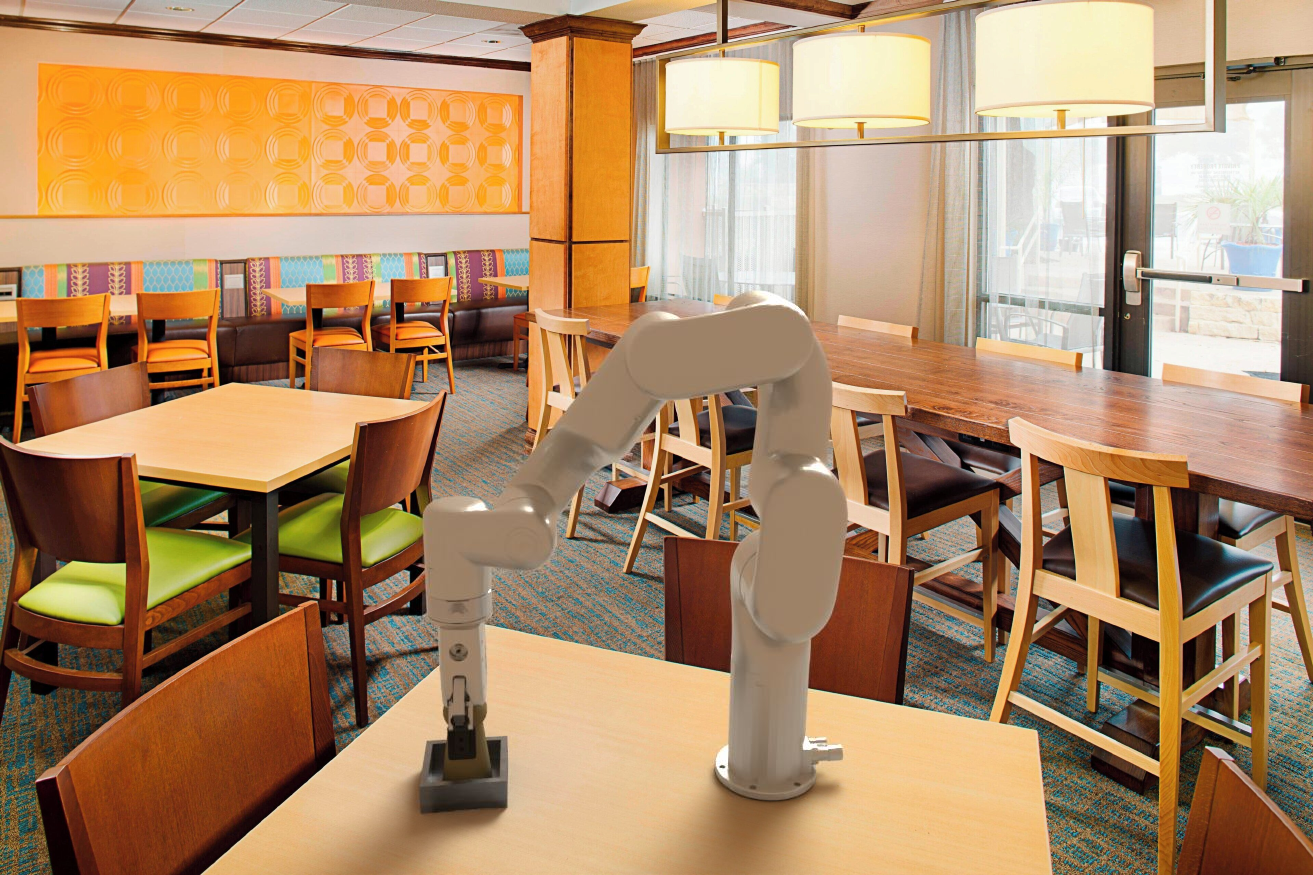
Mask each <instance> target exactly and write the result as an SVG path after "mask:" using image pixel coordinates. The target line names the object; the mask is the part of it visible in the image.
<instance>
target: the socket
mask: <svg viewBox="0 0 1313 875" xmlns="http://www.w3.org/2000/svg"><path fill="white" fill-rule="evenodd" d="M446 741H447V739H433V740H426V742H425V750H424V755H423V760H422V761H423V762H422V768H421V774H420V781H419V784H418V785H419V786H418V787H419V806H420V807H419V808H420V813H419V814H430V813H431V814H433V813H434V814H435V813H446V812H447V813H448V812H459V811H460V812H461V811H462V812H463V811H474V810H489V809H491V810H492V809H500V808H501V809H503V808H504V809H505V808H508V802H509V801H508V800H509V799H508V794H509V793H508V789H509V786H508V783H509V782H508V781H509V780H508V778H509V754H508V753H509V747H508V746H509V745H508V735H500V736H486V742H487V747H488V753H489V759H490V764H491V770H492V778H485V779H470V780H455V781H442V779H443V769H444V760H445V750H446Z"/></svg>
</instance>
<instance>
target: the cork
mask: <svg viewBox="0 0 1313 875" xmlns="http://www.w3.org/2000/svg"><path fill="white" fill-rule="evenodd" d="M465 701H470V697H465ZM442 707H443V708H442V716H443V719H444V721H445V723H446V725H447V727H449V706H448V708H447V707H445V706H444V705H443V706H442ZM487 714H488V703H487V700H486V701H485V703H484V704H483V705H482V706H480V705H473V726H475V725H476V751H477V755H476V758H475V759H466V760H449V759H448V739H447V738H446V740H447V741H446V750H445V760H444V769H443V779H442V781H455V780H470V779H485V778H492V770H491V764H490V759H489V753H488V747H487V742H486V737H487V736H486V731H485V730H486V729H485V726H484V721H485V719H486V718H487ZM465 715H467V716H468V708H465Z"/></svg>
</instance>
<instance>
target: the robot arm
mask: <svg viewBox="0 0 1313 875" xmlns="http://www.w3.org/2000/svg"><path fill="white" fill-rule="evenodd" d="M830 368H831V367H830V366H829V362H828V358H827V355H826V353H825V350H824V349H823V346H822V344H821V342H820V340H819V338H818V336H817V335H816V334H815V332H814V330H813V325H812V323H811V321H810V319H809V317H808V316H807V314H806V313H805V312H804V311H803V310H802V309H801V308H799V307H798V305H796V304H794V303H793V302H791V301H788V300H786V299H785V298H782V297H781V296H779V295H777V294H775V293H772V292H769V291H765V290H757V289H756V290H755V289H754V290H749V291H744V292H742V293H739V294H738V295H736V296H735V297H733V299H731V300H730V301H729V303H728V304H727V306H726V308H725V309H724V310H723V311H718V312H711V313H707V314H700V315H695V316H694V315H693V316H689V317H687V316H686V317H682V318H681V317H679V316H677V315H675V314H674V313H670V312H667V311H658V310H655V311H649V312H647V313H645V314H642V315H641V316H639V317H638V318H636V319H635V320H634V321H633V322H631V324H630V325H629V326H628V327H627V329H625V331H624V333H622V335H621V337H619V339H618V340H617V342H616V343H615V345H614V346H613V347H612V348H611V350H610V351H609V352H608V354H607V355H606V356H605V357H604V359H603V361H602V362H601V363H600V364H599V367H598V368H597V369H596V370H595V372H594V373H593V374H592V376H591V377H590V378H589V379H588V382H586V383H585V385H584V387H582V389H581V390H580V392H579V393H578V395H577V396H576V397H575V399H573V401H572V402H571V404H570V405H569V406H568V407H567V409H566V410H565V411H564V412H563V414H562V415H561V416H560V417H559V418H558V419H557V421H556V422H555V423H554V424H553V426H552V428H551V429H550V430H549V431H548V432H547V434H545V436H544V437H543V438H542V439H541V440H540V442H539V443H538V444H537V445H536V446H535V447H534V449H533V450H532V451H531V453H530V454H529V456H528V457H527V458H526V459H525V461H524V462H523V463H522V464H521V466H520V468H518V470H517V471H516V473H515V474H514V475H513V477H512V478H511V480H510V481H509V482H508V484H507V485H506V486H505V488H504V489H503V491H502V492H501V494H500V495H499V497H498V499H497V502H496V504H495V507H494V509H489V507H488V505H487V504H486V503H485V502H484V501H482V500H481V499H479V498H475V497H472V496H467V495H466V496H465V495H462V496H461V495H458V496H455V495H454V496H453V495H452V496H445V497H441V498H438V499H435V500H433V501H431V502H430V503H428V505H426V507H425V508H424V510H423V512H422V533H423V534H422V536H423V537H422V538H423V551H424V552H423V553H424V554H423V555H424V556H423V557H424V575H425V577H424V578H425V580H424V581H425V600H426V602H425V604H426V618H427V621H428V623H430V624H432V625H433V626H436V627H437V640H438V642H437V643H438V644H437V645H438V662H439V664H438V665H439V678H440V687H441V688H440V689H441V700H442V705H443V707H444V706H445V707H447V708H448V706H449V727H448V726H447V728H446V740H447V739H448V759H449V760H466V759H475V758H476V755H477V751H476V725H475V726H473V705H480V706H482V705H483V704H484V703H485V701H486V702H487V700H486V699H487V690H488V689H487V687H488V686H487V685H488V664H487V663H488V662H487V641H486V639H487V635H486V622H487V621H488V620H490V619H491V617H492V615H493V586H492V585H493V584H492V583H493V581H492V580H493V579H492V568H495V569H500V570H501V569H502V570H507V571H513V572H514V571H516V572H528V571H534V570H536V569H539V568H541V567H543V566H544V565H546V564H547V563H548V562H549V561H550V560H551V558H552V557H553V556H554V553H555V551H556V547H557V542H558V541H557V540H558V519H559V518H560V516H561V515H562V514H563V512H564V511H565V509H566V508H567V507H568V505H569V504H570V503H571V501H572V500H573V499H574V498H575V497H576V495H577V494H578V492H579V491H580V490H581V489H582V488H583V486H584V485H585V484H586V483H587V482H588V481H589V479H591V477H593V476H594V474H596V473H597V472H598V471H599V470H601V469H603V468H604V467H607V466H610V465H611V464H615V463H617V462H619V461H620V460H622V459H624V457H626V456H627V455H628V454H629V453H630V452H631V450H632V449H633V448H634V447H635V445H636V444H637V443H638V441H639V440H640V438H641V437H642V436H643V434H644V433H645V432H646V430H647V428H648V427H649V426H650V425H651V423H652V422H653V421H654V420H655V418H656V417H657V415H659V413H660V412H661V410H662V409H663V407H664V406H665V405H666V404H667V403H668V402H669V401H670V402H671V401H683V400H691V399H697V398H702V397H708V396H713V395H714V396H715V395H720V394H723V393H729V392H733V391H738V390H744V389H748V388H754V387H756V388H757V389H756V390H757V411H756V424H755V431H754V432H755V433H754V439H753V448H752V454H751V455H752V456H751V462H750V467H749V472H748V478H747V495H748V499H749V502H750V505H751V506H752V508H753V510H754V512H755V514H756V515H757V517H758V518H759V529H756V530H754V531H752V532H750V533H749V534H748V535H746V536H745V537H744V538H743V539H741V541H740V542H739V544H738V545H737V546H736V549H735V550H734V553H733V556H732V559H731V563H730V576H729V577H730V578H729V580H730V599H731V600H730V601H731V602H730V603H731V653H730V654H731V656H730V674H729V676H730V679H729V680H730V681H729V683H730V684H729V706H728V707H729V709H728V713H729V714H728V737H727V738H728V740H727V742H728V744H727V745H726V746H724V747H722V749H720V750H719V751H718V753H717V755H716V756H715V760H714V771H715V775H716V777H717V779H718V780H719V782H721V783H722V784H723V785H724V786H725V787H726V788H728V789H729V790H731V791H732V792H734V793H736V794H738V795H741V796H744V797H745V798H750V799H754V800H760V801H761V800H762V801H782V800H788V799H791V798H792V799H793V798H796V797H798V796H800V795H802V794H804V793H806V792H807V791H809V790H810V789H811V788H812V787H813V785H814V784H815V782H816V780H817V779H816V778H817V776H816V775H817V765H818V764H819V762H825V761H827V762H834V761H835V762H837V761H843V759H844V751H843V748H842V747H843V746H842V745H841V744H828V742H827V738H826V737H825V736H815V737H812V738H811V737H810V738H809V737H808V736H807V735H806V732H807V731H806V729H807V716H808V715H807V711H808V697H809V696H808V694H809V693H808V692H809V679H810V678H809V677H810V674H809V673H810V664H811V663H810V662H811V650H812V649H811V647H812V646H811V643H812V642H811V641H812V638H814V637H815V636H816V635H818V634H819V633H820V632H821V631H822V630H823V629H824V627H825V626H826V625H827V623H828V622H829V620H830V618H831V616H832V614H833V611H834V609H835V608H834V607H835V604H836V600H837V597H838V596H837V595H838V590H839V584H840V579H841V571H842V565H843V558H844V550H845V546H846V545H845V544H846V538H847V531H848V523H849V522H848V521H849V518H848V517H849V516H848V514H849V511H848V509H849V508H848V502H847V501H848V500H847V496H846V493H845V491H844V488H843V485H842V484H841V483H840V481H839V479H838V478H837V476H836V475H835V474H834V473H833V471H831V470H830V468H829V466H828V455H829V454H828V453H829V445H830V444H829V443H830V438H831V437H830V435H831V422H832V411H833V396H834V395H833V392H834V391H833V381H832V373H831V369H830ZM465 697H470V701H465ZM465 708H468V716H467V715H465Z"/></svg>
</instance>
